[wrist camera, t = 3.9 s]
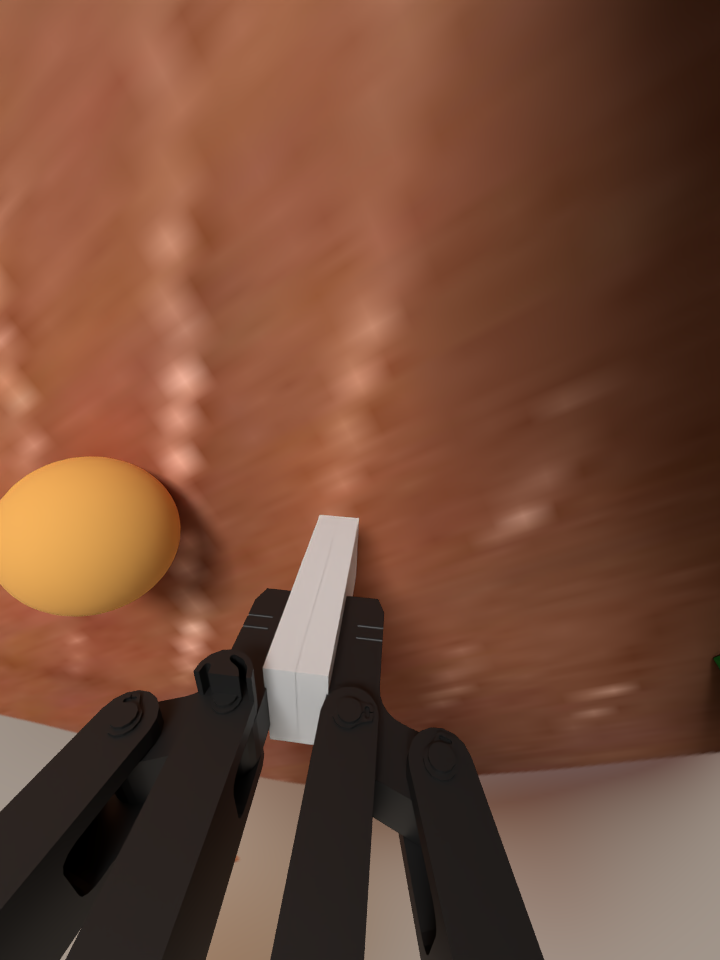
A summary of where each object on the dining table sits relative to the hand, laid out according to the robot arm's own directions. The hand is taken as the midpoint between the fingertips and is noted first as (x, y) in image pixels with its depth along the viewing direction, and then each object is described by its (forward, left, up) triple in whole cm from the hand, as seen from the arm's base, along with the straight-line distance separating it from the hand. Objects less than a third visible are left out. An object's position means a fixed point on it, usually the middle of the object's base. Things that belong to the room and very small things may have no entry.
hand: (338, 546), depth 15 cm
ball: (0, -9, +1) cm, 9 cm away
